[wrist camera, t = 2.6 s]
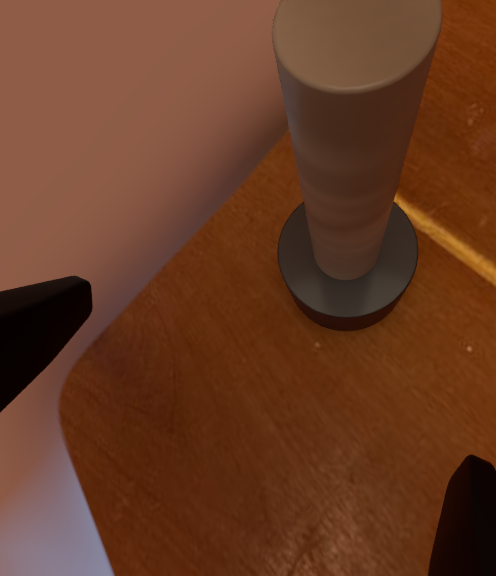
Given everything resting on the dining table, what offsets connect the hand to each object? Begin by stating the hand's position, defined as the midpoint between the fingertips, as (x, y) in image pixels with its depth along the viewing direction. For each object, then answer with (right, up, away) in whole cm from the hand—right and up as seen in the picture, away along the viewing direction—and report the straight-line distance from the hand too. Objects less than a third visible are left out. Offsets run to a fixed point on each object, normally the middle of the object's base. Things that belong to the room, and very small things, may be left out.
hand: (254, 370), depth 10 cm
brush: (+5, +3, +12) cm, 13 cm away
